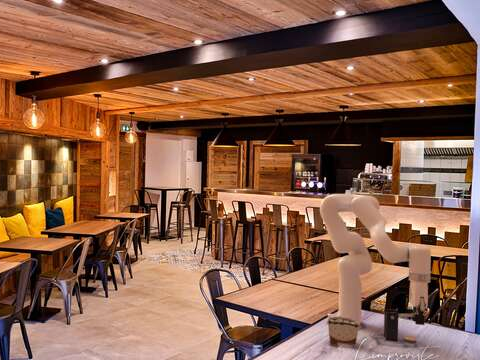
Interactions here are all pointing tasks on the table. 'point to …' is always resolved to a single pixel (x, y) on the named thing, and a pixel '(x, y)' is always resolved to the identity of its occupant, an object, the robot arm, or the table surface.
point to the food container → (342, 330)
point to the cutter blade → (406, 315)
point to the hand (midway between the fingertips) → (418, 322)
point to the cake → (409, 339)
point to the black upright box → (391, 325)
